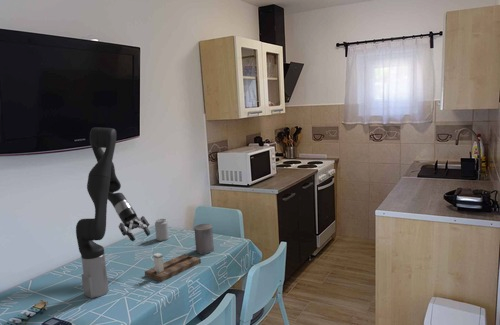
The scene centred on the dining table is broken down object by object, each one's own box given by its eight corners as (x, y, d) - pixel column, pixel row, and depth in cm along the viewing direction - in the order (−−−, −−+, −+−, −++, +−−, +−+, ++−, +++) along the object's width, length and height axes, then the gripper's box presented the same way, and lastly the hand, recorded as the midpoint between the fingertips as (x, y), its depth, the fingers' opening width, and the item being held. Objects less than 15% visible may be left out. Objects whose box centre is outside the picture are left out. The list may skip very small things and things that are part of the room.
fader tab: (159, 274, 180) (158, 256, 179) (155, 273, 182) (153, 254, 181) (164, 272, 182) (162, 254, 181) (159, 271, 184) (157, 252, 183)
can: (166, 241, 229) (164, 221, 227) (154, 241, 231) (152, 221, 229) (171, 237, 236) (169, 218, 235) (159, 236, 238) (157, 218, 236)
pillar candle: (199, 247, 217) (197, 221, 214) (216, 247, 215) (214, 221, 213) (193, 254, 207) (191, 227, 205) (211, 254, 206) (209, 227, 203)
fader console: (161, 282, 176) (160, 277, 175) (145, 275, 183) (144, 271, 183) (200, 262, 195) (200, 258, 195) (184, 257, 202) (184, 253, 202)
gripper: (115, 210, 185) (131, 237, 180) (140, 203, 196) (156, 229, 191) (110, 219, 189) (126, 246, 184) (134, 212, 200) (150, 237, 195)
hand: (141, 237), depth 187 cm, fingers open, 8 cm apart
